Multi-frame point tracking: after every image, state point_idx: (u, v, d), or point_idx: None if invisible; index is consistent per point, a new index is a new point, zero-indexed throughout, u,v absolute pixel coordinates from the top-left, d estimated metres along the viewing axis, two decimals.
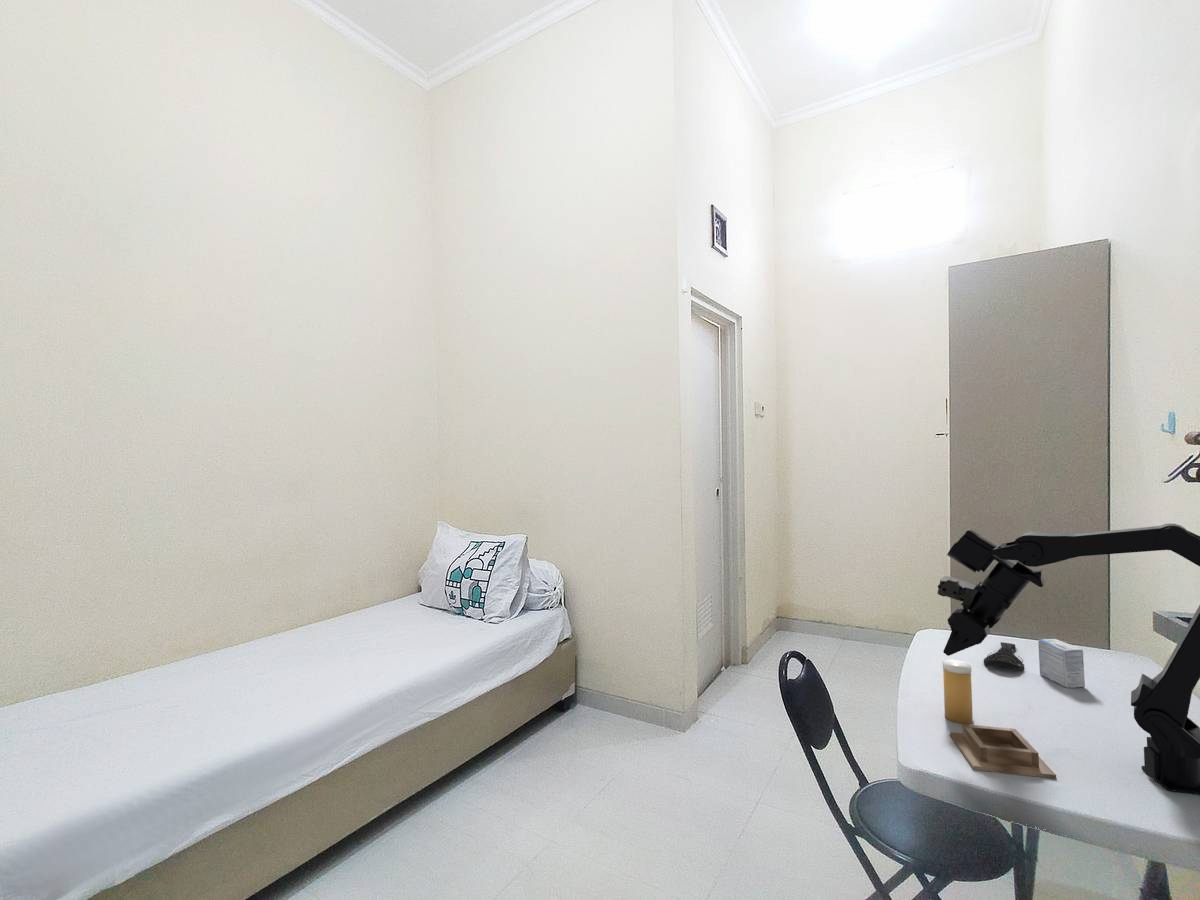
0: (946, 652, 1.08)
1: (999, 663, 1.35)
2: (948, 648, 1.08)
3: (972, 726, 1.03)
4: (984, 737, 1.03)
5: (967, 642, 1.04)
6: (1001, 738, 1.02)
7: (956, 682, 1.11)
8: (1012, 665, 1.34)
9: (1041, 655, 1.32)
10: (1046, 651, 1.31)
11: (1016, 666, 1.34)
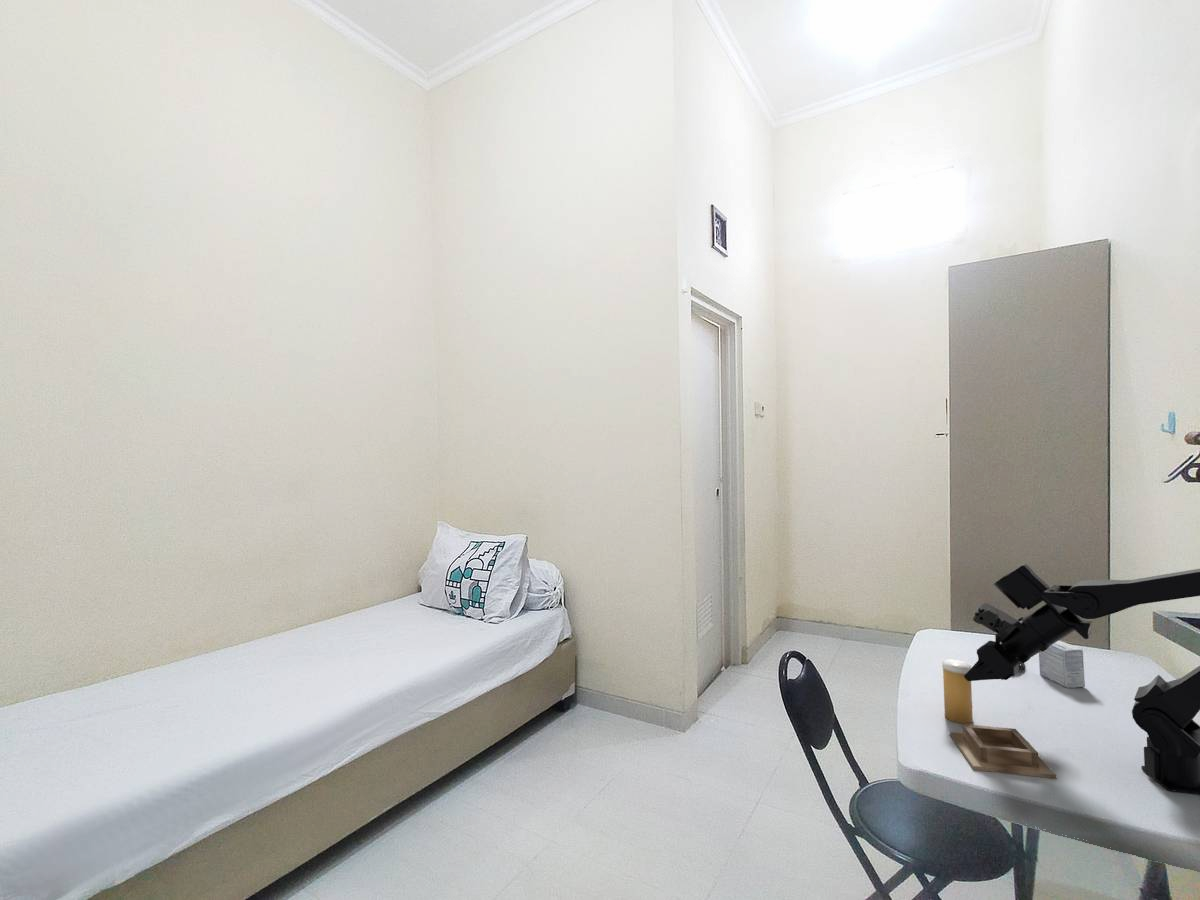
0: (967, 677, 1.08)
1: None
2: (970, 674, 1.07)
3: (972, 726, 1.03)
4: (984, 737, 1.03)
5: (991, 674, 1.03)
6: (1001, 738, 1.02)
7: (955, 682, 1.11)
8: None
9: (1041, 655, 1.32)
10: (1046, 651, 1.31)
11: None
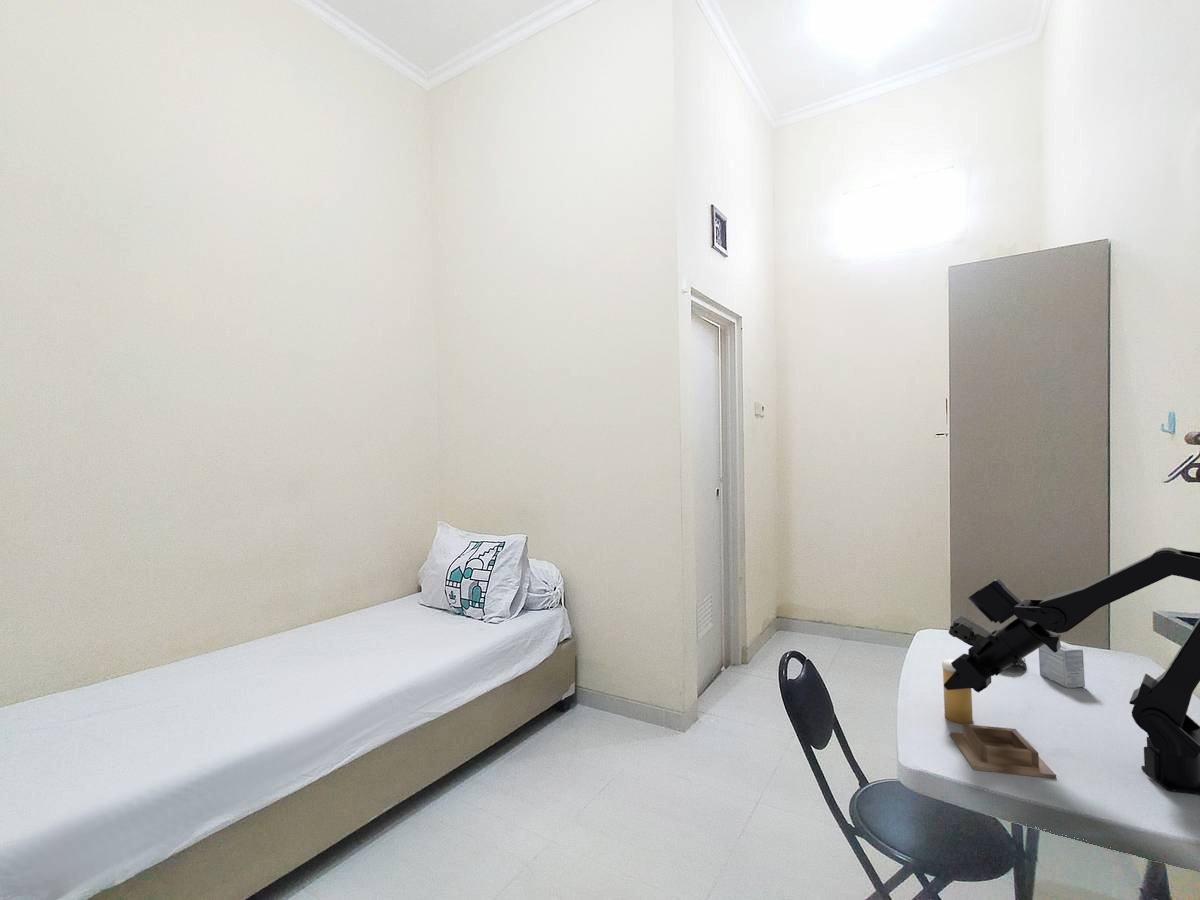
0: (946, 686, 1.12)
1: None
2: (949, 683, 1.11)
3: (972, 726, 1.03)
4: (984, 737, 1.03)
5: (969, 683, 1.08)
6: (1001, 738, 1.02)
7: None
8: (1014, 664, 1.35)
9: (1041, 655, 1.32)
10: (1046, 651, 1.31)
11: (1018, 665, 1.35)
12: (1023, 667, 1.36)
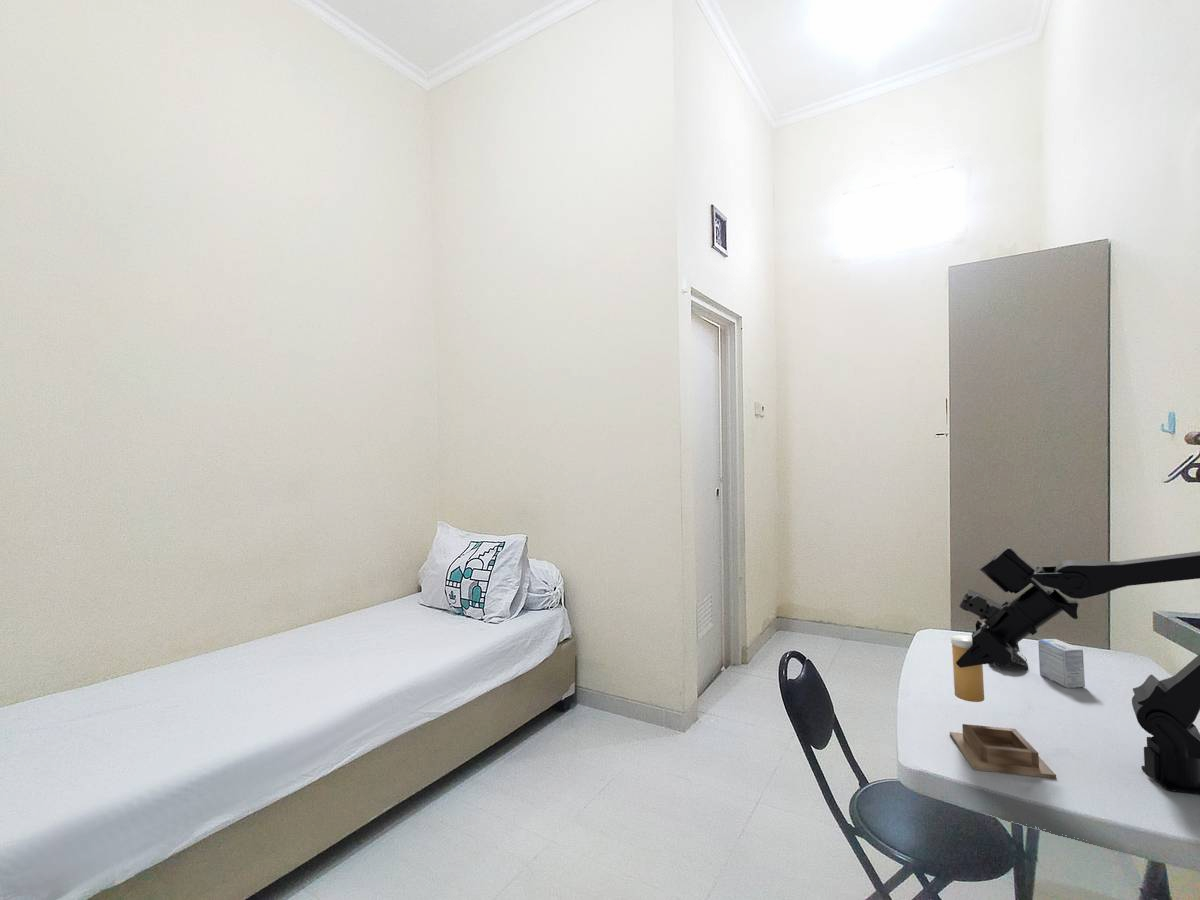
0: (959, 664, 1.06)
1: None
2: (962, 660, 1.05)
3: (972, 726, 1.03)
4: (984, 737, 1.03)
5: (986, 658, 1.02)
6: (1001, 738, 1.02)
7: None
8: (1016, 664, 1.35)
9: (1041, 655, 1.32)
10: (1046, 651, 1.31)
11: (1020, 665, 1.35)
12: (1025, 667, 1.36)
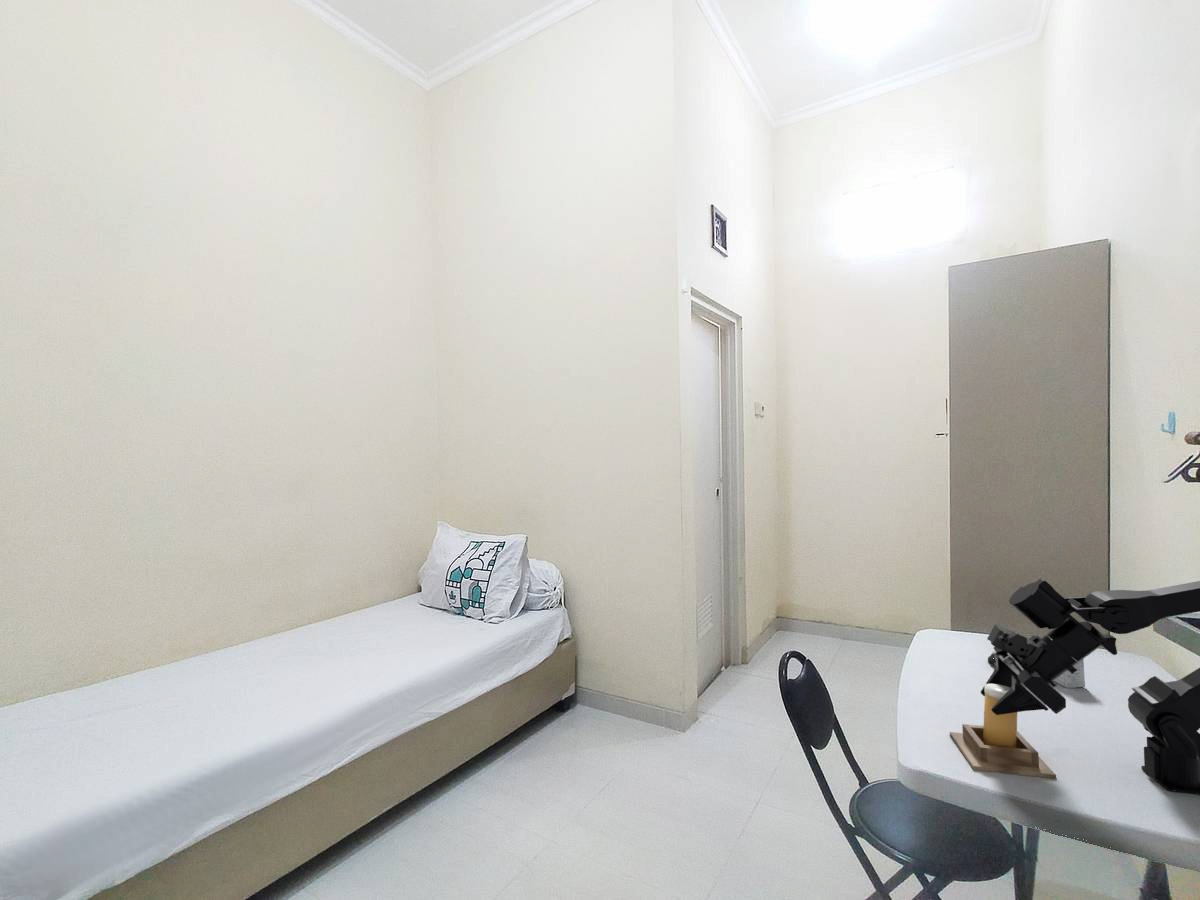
0: (996, 711, 0.96)
1: None
2: (1000, 707, 0.95)
3: (972, 726, 1.03)
4: None
5: (1029, 705, 0.93)
6: None
7: None
8: None
9: None
10: None
11: None
12: None
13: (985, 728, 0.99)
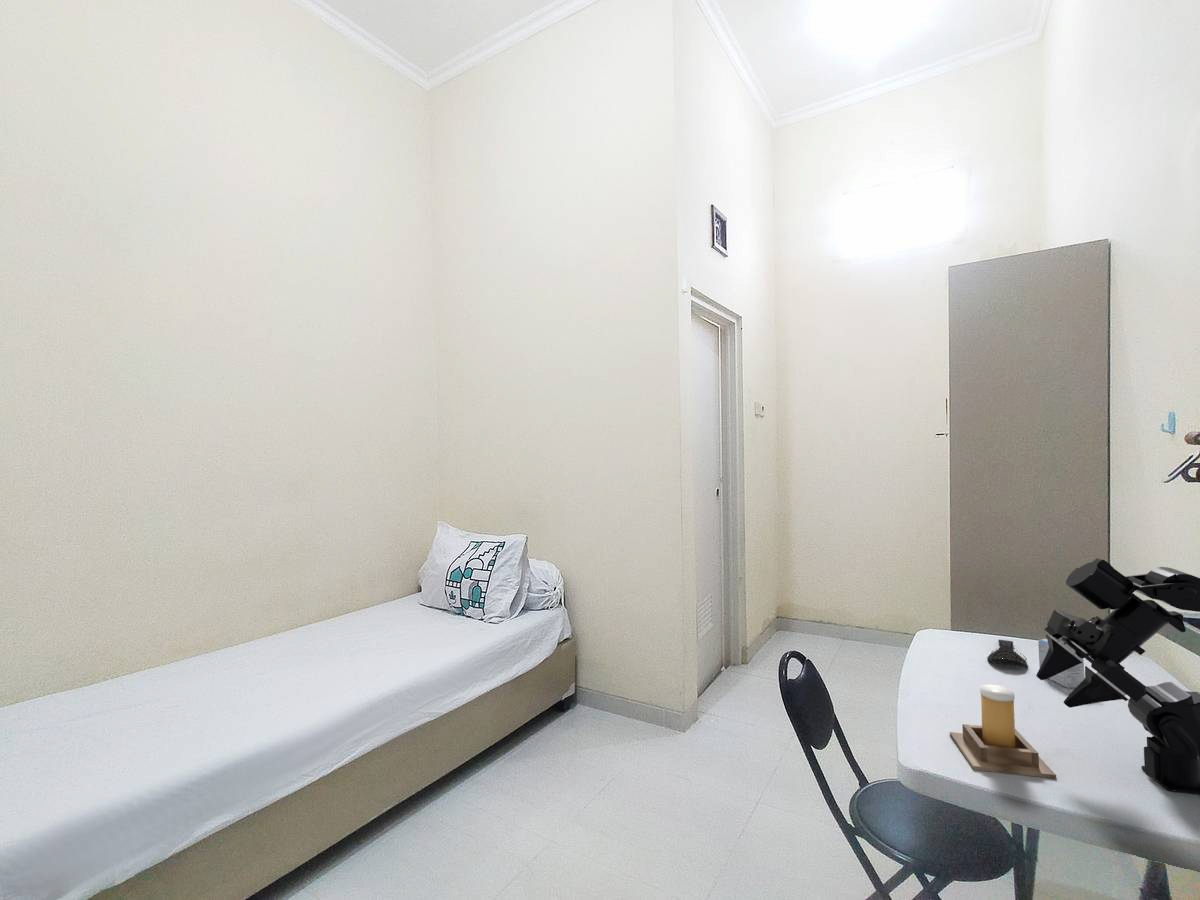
0: (1069, 704, 0.91)
1: (1005, 661, 1.36)
2: (1074, 700, 0.91)
3: (972, 726, 1.03)
4: None
5: (1105, 696, 0.88)
6: None
7: (1004, 712, 0.97)
8: (1018, 663, 1.36)
9: (1041, 655, 1.32)
10: (1046, 651, 1.31)
11: (1022, 664, 1.36)
12: (1025, 665, 1.37)
13: (983, 730, 0.99)
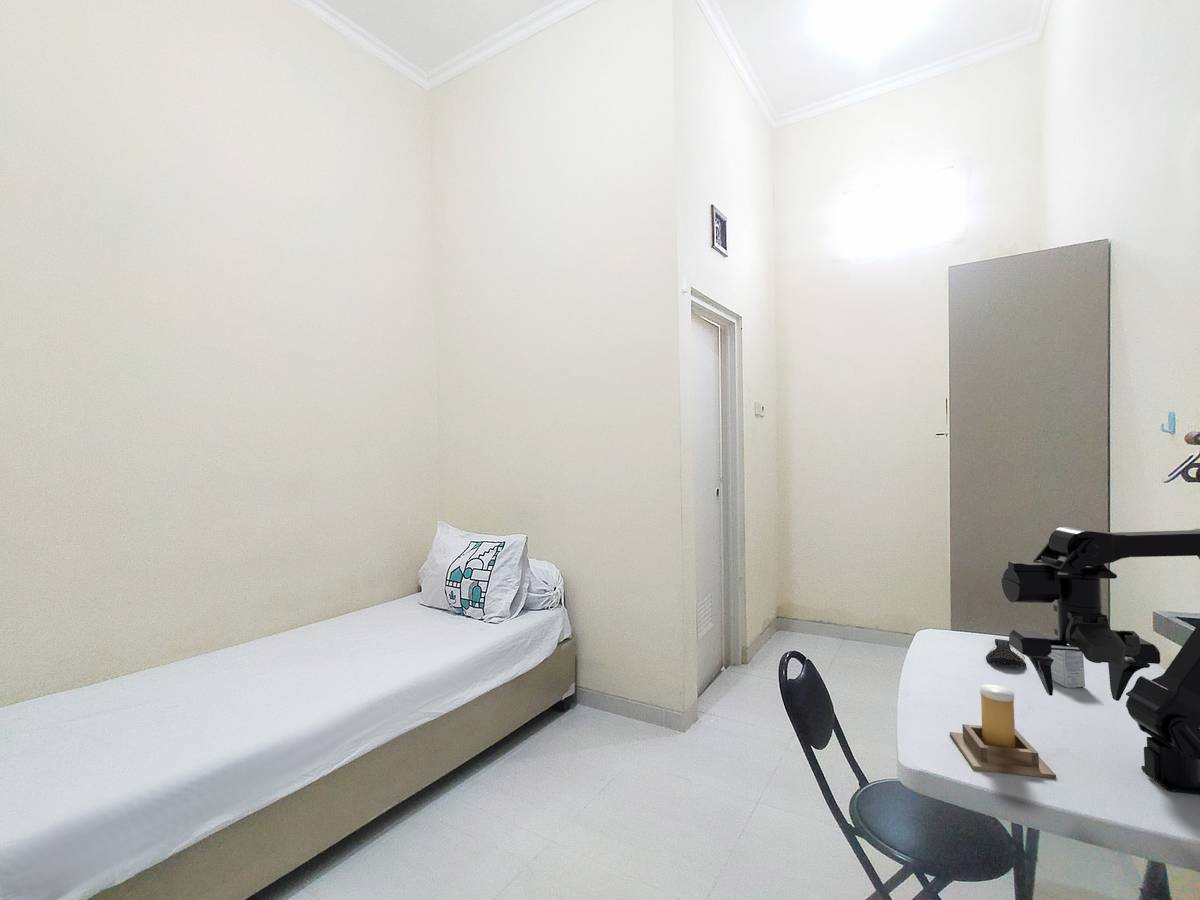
0: None
1: (1005, 660, 1.37)
2: None
3: (972, 726, 1.03)
4: None
5: None
6: None
7: (1004, 712, 0.97)
8: (1017, 662, 1.36)
9: None
10: None
11: (1020, 663, 1.36)
12: (1024, 664, 1.37)
13: (983, 730, 0.99)
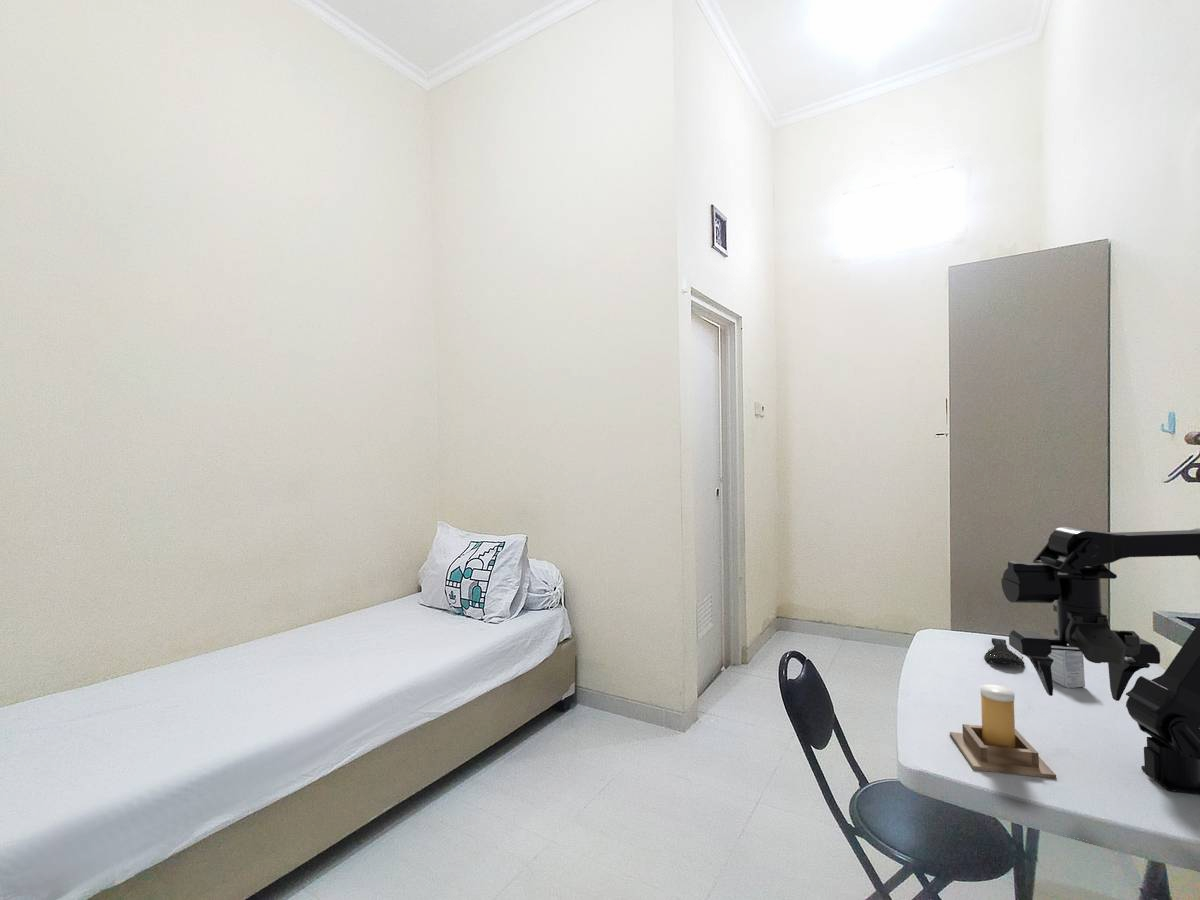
0: None
1: (1004, 660, 1.37)
2: None
3: (972, 726, 1.03)
4: None
5: None
6: None
7: (1004, 712, 0.97)
8: (1016, 661, 1.37)
9: None
10: None
11: (1019, 662, 1.37)
12: (1023, 663, 1.38)
13: (983, 730, 0.99)
